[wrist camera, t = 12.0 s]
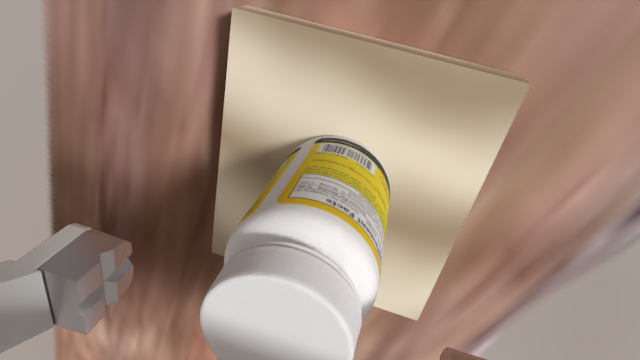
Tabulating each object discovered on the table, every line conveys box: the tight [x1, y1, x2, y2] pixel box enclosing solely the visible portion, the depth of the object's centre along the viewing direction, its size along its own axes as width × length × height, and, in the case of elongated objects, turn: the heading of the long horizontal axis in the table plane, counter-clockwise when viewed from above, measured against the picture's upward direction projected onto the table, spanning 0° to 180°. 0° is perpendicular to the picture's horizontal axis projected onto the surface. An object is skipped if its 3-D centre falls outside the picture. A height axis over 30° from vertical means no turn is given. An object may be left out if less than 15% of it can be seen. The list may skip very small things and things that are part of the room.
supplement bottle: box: [200, 136, 390, 360], centre depth 13 cm, size 5×5×8 cm
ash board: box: [211, 5, 530, 320], centre depth 17 cm, size 12×11×2 cm
